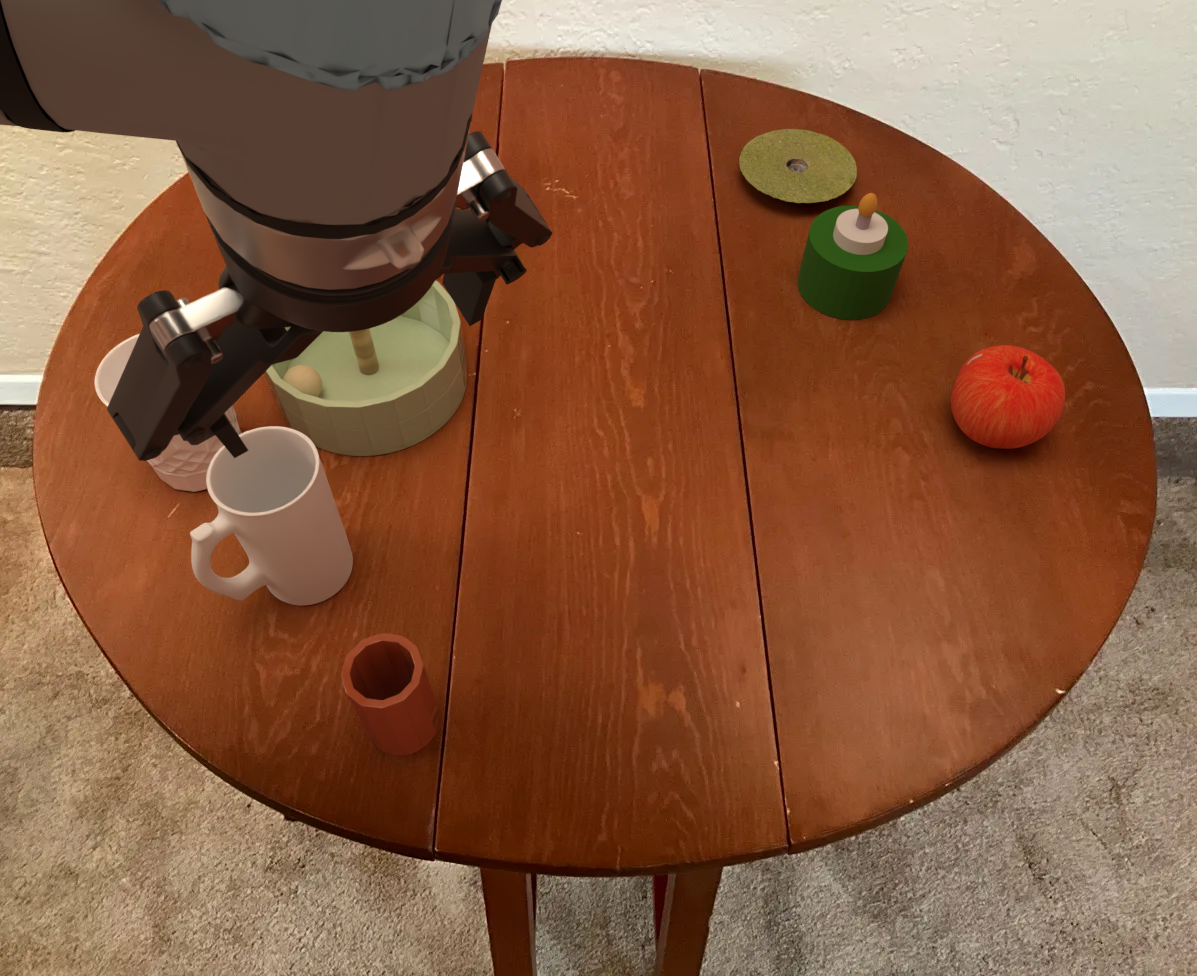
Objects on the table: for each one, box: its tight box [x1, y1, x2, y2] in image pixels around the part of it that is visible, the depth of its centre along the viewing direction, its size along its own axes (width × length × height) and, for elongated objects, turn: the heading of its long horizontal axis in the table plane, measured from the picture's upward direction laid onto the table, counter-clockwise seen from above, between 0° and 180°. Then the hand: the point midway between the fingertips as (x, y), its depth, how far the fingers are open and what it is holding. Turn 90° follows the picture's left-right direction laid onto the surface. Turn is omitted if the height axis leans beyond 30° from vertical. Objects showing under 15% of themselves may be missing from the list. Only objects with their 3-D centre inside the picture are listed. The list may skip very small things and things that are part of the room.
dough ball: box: [283, 365, 322, 397], centre depth 76 cm, size 3×3×3 cm
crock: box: [340, 632, 440, 757], centre depth 59 cm, size 5×5×8 cm
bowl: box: [264, 280, 468, 457], centre depth 76 cm, size 15×15×6 cm
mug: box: [189, 425, 354, 607], centre depth 63 cm, size 10×7×12 cm, turn 138°
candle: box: [796, 192, 909, 321], centre depth 82 cm, size 8×8×10 cm
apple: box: [950, 344, 1066, 450], centre depth 73 cm, size 8×8×8 cm
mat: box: [738, 128, 858, 204], centre depth 93 cm, size 11×11×2 cm
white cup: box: [94, 333, 243, 493], centre depth 70 cm, size 8×8×10 cm
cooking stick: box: [349, 329, 379, 375], centre depth 71 cm, size 2×2×18 cm
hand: (348, 364), depth 49 cm, fingers open, 13 cm apart
